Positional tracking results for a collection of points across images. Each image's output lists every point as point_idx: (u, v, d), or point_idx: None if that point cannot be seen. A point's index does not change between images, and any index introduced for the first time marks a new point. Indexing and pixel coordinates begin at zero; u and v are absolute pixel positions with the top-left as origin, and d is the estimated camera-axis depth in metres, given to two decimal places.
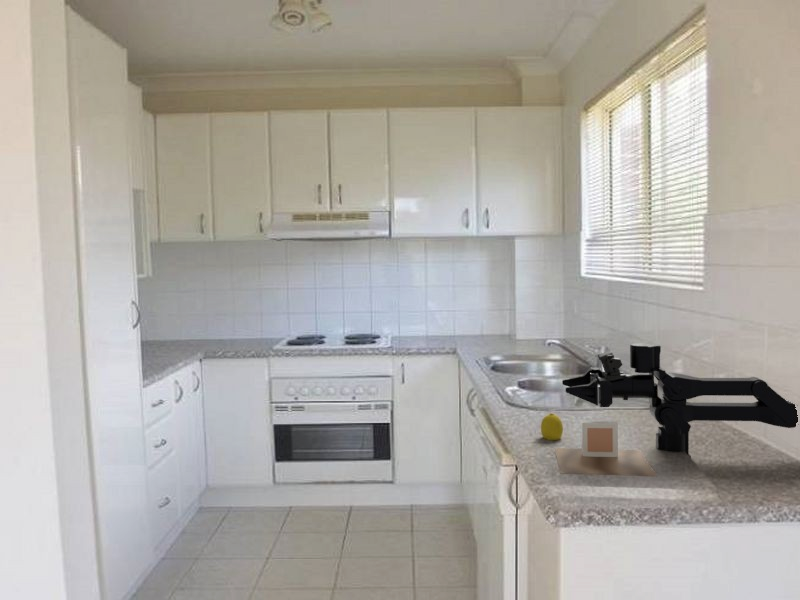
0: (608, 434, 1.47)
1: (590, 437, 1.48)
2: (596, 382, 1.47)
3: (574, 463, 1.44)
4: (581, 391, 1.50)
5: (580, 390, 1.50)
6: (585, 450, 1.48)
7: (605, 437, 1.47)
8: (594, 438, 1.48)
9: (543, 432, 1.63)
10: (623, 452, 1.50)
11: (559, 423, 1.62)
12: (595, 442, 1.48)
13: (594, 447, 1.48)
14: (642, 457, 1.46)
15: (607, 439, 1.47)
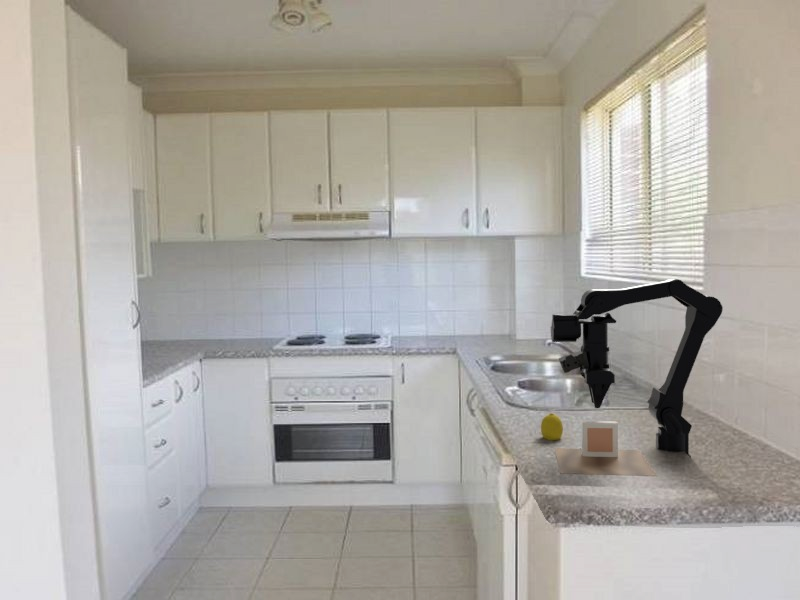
0: (608, 434, 1.47)
1: (590, 437, 1.48)
2: (587, 383, 1.48)
3: (574, 463, 1.44)
4: (598, 394, 1.50)
5: (597, 395, 1.50)
6: (585, 450, 1.48)
7: (605, 437, 1.47)
8: (594, 438, 1.48)
9: (543, 432, 1.63)
10: (623, 452, 1.50)
11: (559, 423, 1.62)
12: (595, 442, 1.48)
13: (594, 447, 1.48)
14: (642, 457, 1.46)
15: (607, 439, 1.47)
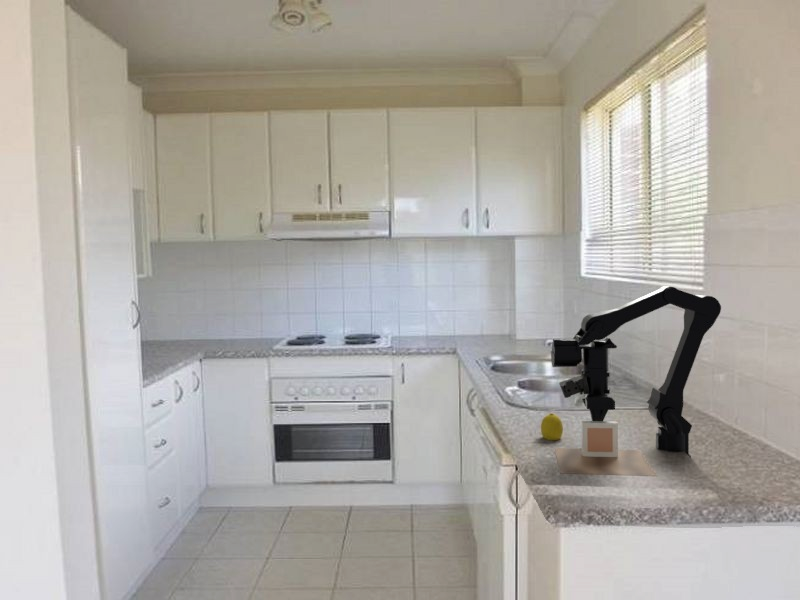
0: (608, 434, 1.47)
1: (590, 437, 1.48)
2: None
3: (574, 463, 1.44)
4: (597, 417, 1.52)
5: (596, 418, 1.52)
6: (585, 450, 1.48)
7: (605, 437, 1.47)
8: (594, 438, 1.48)
9: (543, 432, 1.63)
10: (623, 452, 1.50)
11: (559, 423, 1.62)
12: (595, 442, 1.48)
13: (594, 447, 1.48)
14: (642, 457, 1.46)
15: (607, 439, 1.47)
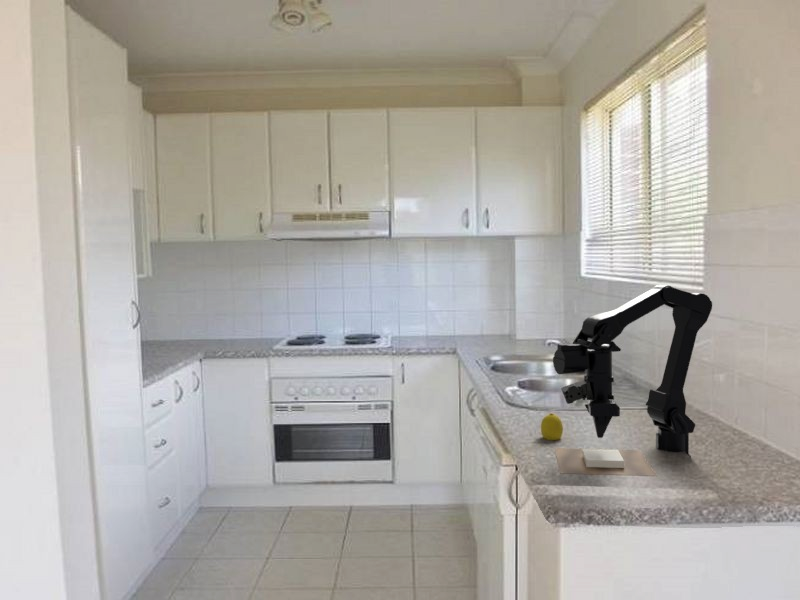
0: None
1: None
2: None
3: (574, 463, 1.44)
4: (600, 423, 1.46)
5: (599, 424, 1.46)
6: None
7: None
8: None
9: (543, 432, 1.63)
10: (623, 452, 1.50)
11: (559, 423, 1.62)
12: None
13: None
14: (642, 457, 1.46)
15: None
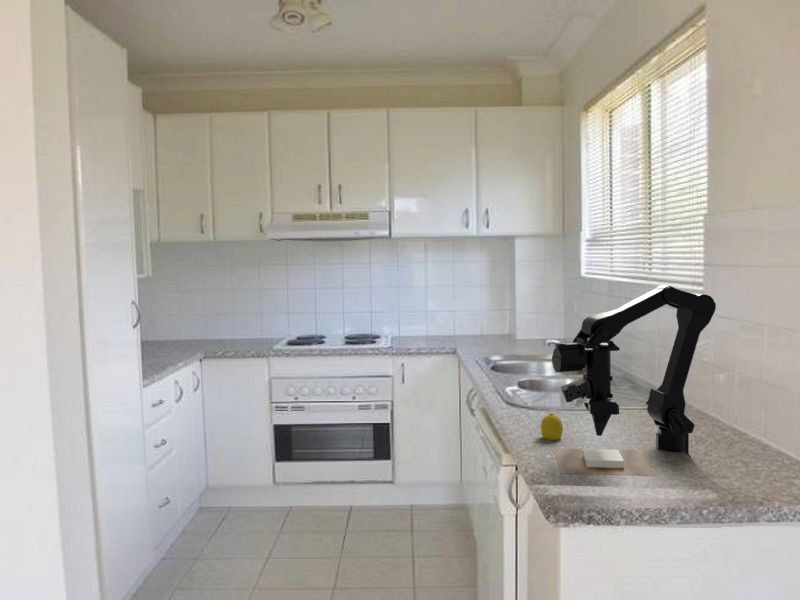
0: None
1: None
2: (589, 410, 1.46)
3: (574, 463, 1.44)
4: (599, 422, 1.48)
5: (598, 423, 1.48)
6: None
7: None
8: None
9: (543, 432, 1.63)
10: (623, 452, 1.50)
11: (559, 423, 1.62)
12: None
13: None
14: (642, 457, 1.46)
15: None
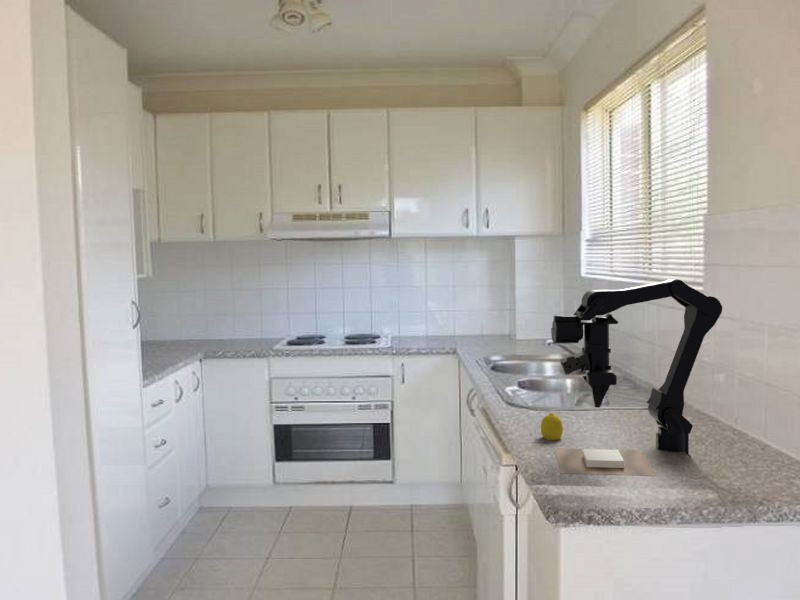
0: None
1: None
2: None
3: (574, 463, 1.44)
4: (598, 393, 1.51)
5: (597, 394, 1.51)
6: None
7: None
8: None
9: (543, 432, 1.63)
10: (623, 452, 1.50)
11: (559, 423, 1.62)
12: None
13: None
14: (642, 457, 1.46)
15: None
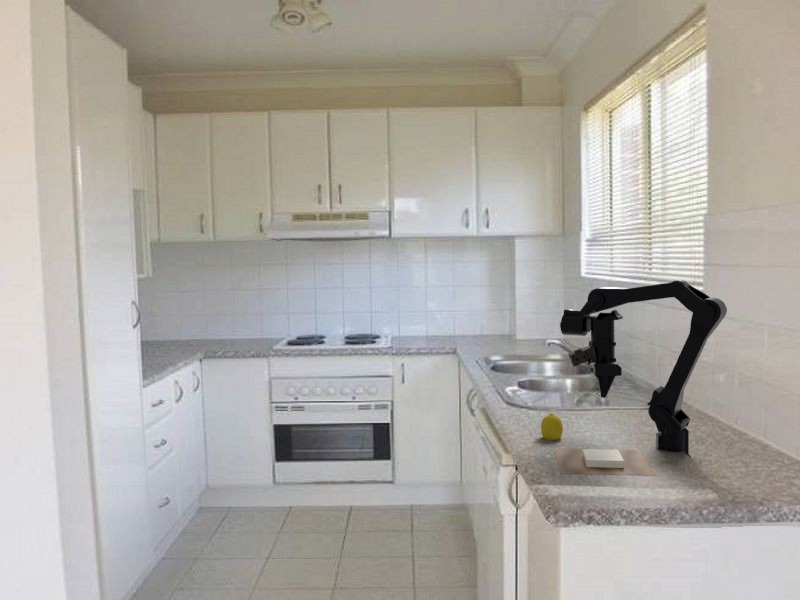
0: None
1: None
2: None
3: (574, 463, 1.44)
4: (604, 384, 1.61)
5: (603, 385, 1.61)
6: None
7: None
8: None
9: (543, 432, 1.63)
10: (623, 452, 1.50)
11: (559, 423, 1.62)
12: None
13: None
14: (642, 457, 1.46)
15: None
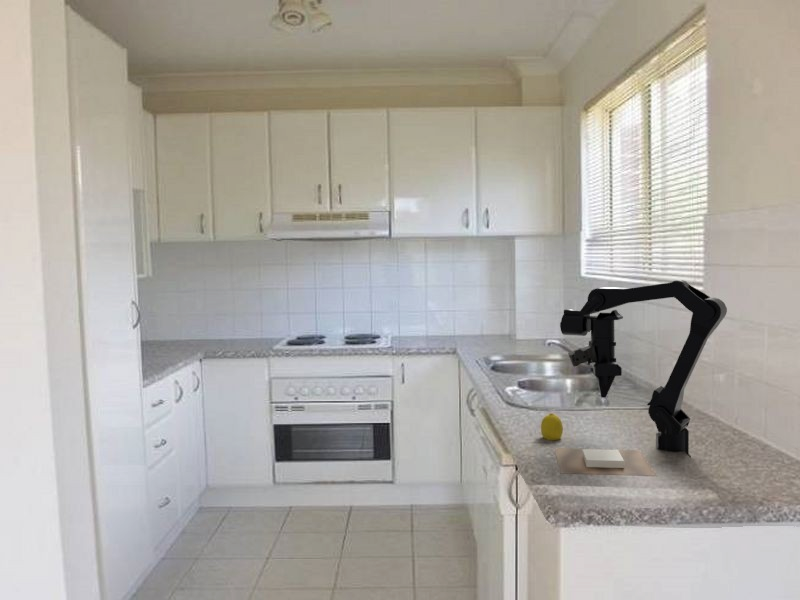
0: None
1: None
2: None
3: (574, 463, 1.44)
4: (604, 384, 1.61)
5: (603, 385, 1.61)
6: None
7: None
8: None
9: (543, 432, 1.63)
10: (623, 452, 1.50)
11: (559, 423, 1.62)
12: None
13: None
14: (642, 457, 1.46)
15: None
